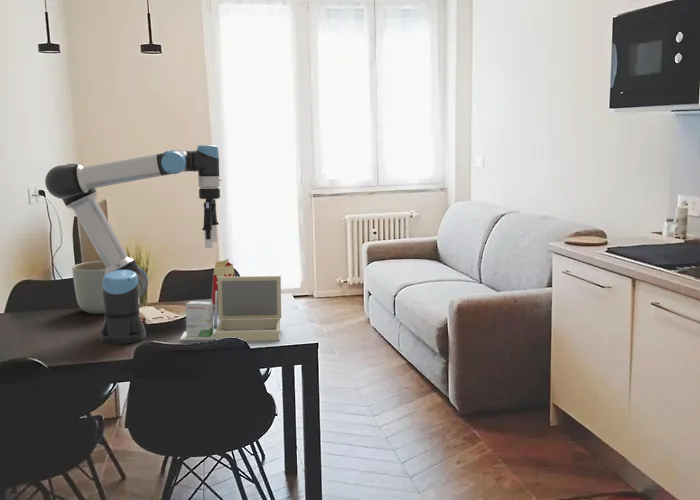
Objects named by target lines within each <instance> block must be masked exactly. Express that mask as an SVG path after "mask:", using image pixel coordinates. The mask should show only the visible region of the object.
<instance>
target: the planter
mask: <svg viewBox="0 0 700 500" xmlns="http://www.w3.org/2000/svg"><path fill="white" fill-rule="evenodd" d="M105 271H106V267H105V265H104V263H103V261H102V260H97V261H88V262H82V263H77V264H75V265H73V266H72V280H73V285H74V293H75V297H76V302H77V305H78V306H79V308H80V309H81V310H82V311H84V312H85V313H87V314H92V315H105V314H104V299H103V288H102V283H103V277H104V275H105Z"/></svg>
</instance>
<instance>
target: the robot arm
mask: <svg viewBox="0 0 700 500" xmlns="http://www.w3.org/2000/svg"><path fill="white" fill-rule="evenodd" d="M219 156H220V155H219V147H218V146H217V145H214V144H207V145H206V144H203V145H201V144H200V145H198V146H197V148H196V150H173V149H172V150H165V151H164V152H163V153H157V154H152V155H151V154H150V155H146V156H139V157H138V156H137V157H135V158H134V157H133V158H127V159H122V160H117V161H111V162H105V163H100V164H94V165H87V166H83V165H81V164H78V163H77V164H76V163H67V164H62V165H56V166H54V167H53V168H51V169H50V170H49V171H48V172H47V174H46V175H45V181H44V182H45V187H46V190H47V191H48V193H49V194H50V195H51V196H53V197H55V198H57V199H62V202H63V203H64V205H65V206H66V208H67V209H68V208H69V209H71V210H73V213H74V214H75V216H76V217H77V219H78V221H79V222H80V224H81V226H82V228H83V229H84V231H85V233H86V235H87V237H88V238H89V240H90V242H91V244H92V245H93V247H94V249H95V251H96V252H97V254H98V257H99V258H100V259H101V260H100V261H103V263H104V265H105V267H106V271H105V275H104V277H103V283H102V288H103V299H104V314H103V315H104V320H103V323H102V327H101V330H100V337H99V338H100V341H101V343H102V342H103V343H104V344H109V345H125V344H129V343H135V342H139V341H142V340H143V339H145V338H146V336H147V335H146V328H145V326H144V323H143V320H142V319H141V318H142V317H141V316H140V301H139V298H140V297H141V296H143V294H145V293H146V291H147V288H148V283H149V279H148V276H147V274H146V272H145V270H143V268H141V267H139V266H138V264H137V262H136V260H135V259H134V258H132V257H129V255H127V253H126V251H125V249H124V247H123V246H122V243H121V242H120V240H119V239H118V236H117V234H116V233H115V231H114V229H113V228H112V226H111V224H110V222H109V220H108V218H107V217H106V215H105V213H104V211H103V210H102V208H101V206H100V204H99V203H98V200H97V194H98V191H97V189H96V188H103V187H108V186H113V185H119V184H124V183H130V182H135V181H141V180H146V179H147V180H148V179H152V178H158V177H163V176H169V175H177V174H181V173H182V172H197V173H198V178H197V179H198V180H197V181H198V187H199V189H198V197H199V199H200V200H205V202H203V209H204V210H203V227H202V228H201V230H202V231H204V249H213V247H214V243H218V233H217V232H218V231H217V230H218V229H217V226H219V221H218V219H217V217H218V216H217V209H216V208H217V203H216V200H217V199H220V198H221V189H220V188H219V187H220V186H221V185H220V182H221V181H222V178H220V157H219Z"/></svg>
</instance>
